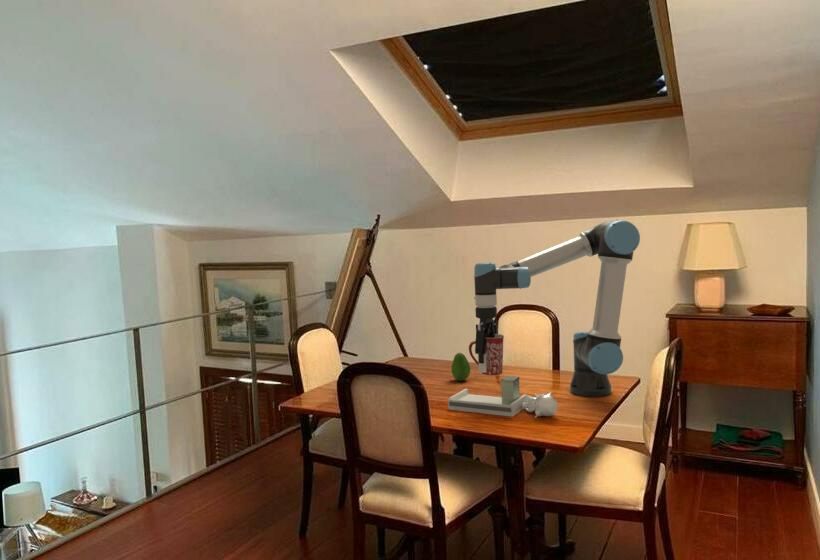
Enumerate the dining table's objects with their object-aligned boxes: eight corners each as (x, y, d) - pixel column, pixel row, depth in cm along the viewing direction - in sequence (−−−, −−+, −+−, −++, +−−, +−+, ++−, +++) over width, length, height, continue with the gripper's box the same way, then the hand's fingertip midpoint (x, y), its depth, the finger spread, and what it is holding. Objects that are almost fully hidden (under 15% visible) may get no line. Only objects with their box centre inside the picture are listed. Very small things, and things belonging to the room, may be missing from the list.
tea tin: (520, 402, 216) (519, 376, 215) (514, 406, 211) (513, 380, 210) (507, 401, 218) (507, 375, 218) (501, 405, 213) (500, 379, 212)
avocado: (450, 382, 257) (449, 354, 256) (452, 378, 265) (451, 351, 264) (470, 382, 256) (468, 354, 255) (471, 378, 264) (470, 350, 263)
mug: (501, 369, 224) (500, 332, 223) (507, 375, 215) (506, 337, 214) (467, 371, 222) (466, 334, 221) (472, 377, 213) (471, 339, 212)
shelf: (527, 405, 219) (527, 394, 219) (512, 416, 206) (512, 405, 206) (465, 399, 231) (465, 388, 231) (448, 409, 218) (447, 398, 218)
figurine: (528, 385, 216) (552, 385, 202) (543, 398, 217) (568, 399, 203) (512, 409, 212) (536, 411, 199) (527, 422, 214) (552, 426, 200)
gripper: (487, 302, 229) (489, 362, 230) (463, 309, 210) (465, 375, 211) (507, 303, 225) (508, 364, 226) (483, 310, 206) (485, 376, 208)
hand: (487, 369), depth 219 cm, fingers closed on mug, 9 cm apart
